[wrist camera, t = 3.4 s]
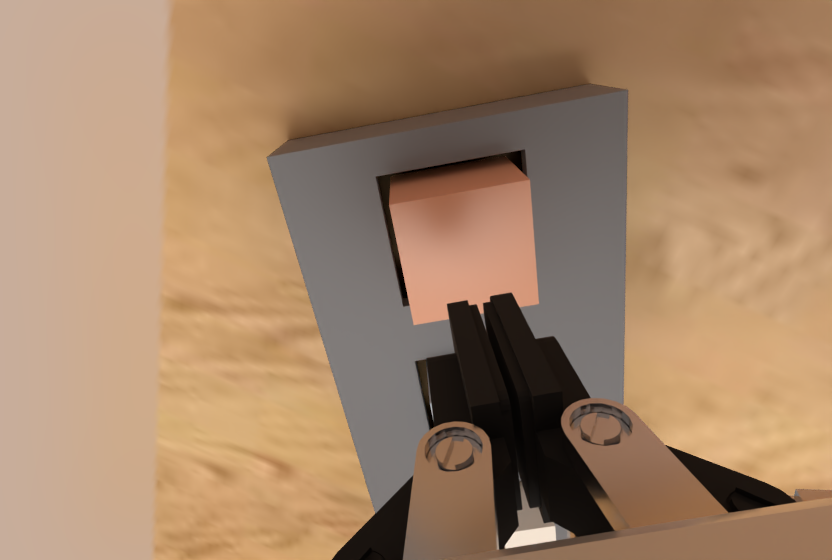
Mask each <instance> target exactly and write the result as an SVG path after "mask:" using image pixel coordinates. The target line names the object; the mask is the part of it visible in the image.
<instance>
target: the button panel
mask: <svg viewBox="0 0 832 560" xmlns="http://www.w3.org/2000/svg"><path fill="white" fill-rule="evenodd" d="M627 132H628V90H626V89H620V88H613V87H607V86H601V85H594V84H586V85H581V86H576V87H570V88H565V89H560V90H554V91H549V92H544V93H538V94H533V95H528V96H522V97H517V98H512V99H506V100H501V101H496V102H490V103H485V104H480V105H474V106H469V107H464V108H458V109H453V110H448V111H442V112H437V113H432V114H426V115H421V116H416V117H410V118H405V119H400V120H394V121H389V122H384V123H378V124H373V125H368V126H362V127H357V128H352V129H346V130H341V131H336V132H331V133H325V134H320V135H315V136H309V137H304V138H299V139H293V140H288V141H287V142H285V143H284V144H283V145H282V146H280V147H279V148H278V149H276V150H275V151H274V152H273V153H271V154H270V155H269V156H268V157H267V160H268V164H269V167H270V170H271V173H272V177H273V180H274V183H275V187H276V190H277V193H278V196H279V200H280V203H281V206H282V209H283V213H284V216H285V219H286V223H287V226H288V229H289V232H290V236H291V239H292V242H293V245H294V249H295V252H296V255H297V259H298V262H299V265H300V268H301V272H302V275H303V278H304V281H305V285H306V288H307V291H308V295H309V298H310V301H311V304H312V308H313V311H314V314H315V317H316V321H317V324H318V327H319V331H320V334H321V337H322V340H323V344H324V347H325V350H326V353H327V357H328V360H329V363H330V367H331V370H332V373H333V376H334V380H335V383H336V386H337V389H338V393H339V396H340V399H341V403H342V406H343V409H344V412H345V416H346V419H347V422H348V425H349V429H350V432H351V435H352V439H353V442H354V445H355V448H356V452H357V455H358V458H359V461H360V465H361V468H362V471H363V475H364V478H365V481H366V484H367V488H368V491H369V494H370V497H371V501H372V504H373V507H374V511H375V514H376V513H377V512H378V511H379V509H380V508H381V507H382V506H383V505H384V504H385V503H386V502H387V501H388V500H389V499H390V498H391V497H392V496H393V495H394V494H395V493H396V492H397V491H398V490H399V489H400V488H401V487H402V486H403V485H404V484H405V483H406V482H407V481H408V480H409V479H410V478H411V477H412V476H413V475H414V467H415V459H416V451H417V447H418V444H419V441H420V440H421V439H422V437H423V436H424V435H425V434H426V433H427V432H428V431H430V430H431V429H430V424H429V420H428V415H427V410H426V405H425V401H424V396H423V391H422V386H421V382H420V377H419V372H418V367H417V363H416V361H419V360H425V359H426V358H429V357H435V356H440V355H446V354H452V353H455V352H454V346H453V340H452V334H451V328H450V322H449V319H447V320H441V321H435V322H429V323H423V324H417V325H414V324H413V319H412V314H411V309H410V304H409V299H408V298H404V299H403V296H402V292H401V287H400V282H399V277H398V273H397V268H396V263H395V258H394V254H393V249H392V244H391V239H390V235H389V230H388V225H387V220H386V216H385V211H384V206H383V201H382V197H381V192H380V187H379V182H378V178H377V176H382V175H387V174H393V173H398V172H404V171H409V170H415V169H420V168H425V167H431V166H436V165H442V164H447V163H453V162H458V161H464V160H469V159H475V158H480V157H486V156H491V155H497V154H502V153H508V152H513V151H518V150H521V157H522V170H523V174H525V175H526V176H527V177H528V178H529V179H530V188H531V201H532V215H533V229H534V242H535V256H536V270H537V283H538V297H539V304H536V305H530V306H524V307H520V309H521V311H522V313H523V315H524V317H525V319H526V321H527V323H528V325H529V327H530V329H531V331H532V333H533V335H534V337H535V339H538V338H544V337H549V336H554V337H555V338H556V339H557V341H558V342H559V344H560V346H561V348H562V349H563V351H564V353H565V354H566V356H567V358H568V360H569V361H570V363H571V365H572V366H573V368H574V370H575V372H576V373H577V375H578V377H579V378H580V380H581V382H582V384H583V385H584V387H585V389H586V390H587V392H588V394H589V396H590V397H591V398H604V399H608V400H612V401H616V402H618V403H620V404H623V402H624V335H625V267H626V200H627ZM480 315H481V318H482V320H483V323H484V326H485V318H484V313H483V314H480ZM485 329H486V326H485ZM519 481H521V479H520V476H519ZM554 524H555V523H554ZM555 530H556V540H562V539H568V536H567V530H566V529H564V528H563V527H561V526H559V525H557V524H555Z"/></svg>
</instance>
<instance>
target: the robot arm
mask: <svg viewBox="0 0 832 560" xmlns="http://www.w3.org/2000/svg"><path fill="white" fill-rule="evenodd" d="M447 310H448V316H449V322H450V328H451V334H452V340H453V346H454V352H455V353H452V354H446V355H440V356H435V357H429V358H426V361H427V370H428V378H429V387H430V395H431V404H432V412H433V420H434V428H432V429H431V430H430V431H428V432H427V433H426V434H425V435H424V436H423V437H422V439H421V440H420V441H419V444H418V447H417V451H416V459H415V467H414V475H413V476H412V477H411V478H410V479H409V480H408V481H407V482H406V483H405V484H404V485H403V486H402V487H401V488H400V489H399V490H398V491H397V492H396V493H395V494H394V495H393V496H392V497H391V498H390V499H389V500H388V501H387V502H386V503H385V504H384V505H383V506H382V507H381V508H380V509H379V511H378V512H377V513H376V514H375V515H374V516H373V517H372V518H371V519H370V520H369V521H368V522H367V523H366V524H365V525H364V526H363V527H362V528H361V529H360V530H359V531H358V532H357V533H356V534H355V535H354V536H353V537H352V538H351V539H350V540H349V541H348V542H347V543H346V544H345V545H344V546H343V547H342V548H341V549H340V550H339V551H338V552H337V554H336V555H335V556H334V558H333V559H332V560H832V490H808V489H796V490H795V495H794V496H788V495H787V494H786V493H784V492H783V491H781V490H780V489H778V488H776V487H773V486H771V485H769V484H767V483H765V482H762V481H760V480H757V479H754V478H752V477H749V476H746V475H744V474H741V473H738V472H736V471H733V470H730V469H728V468H725V467H722V466H720V465H717V464H714V463H712V462H709V461H707V460H704V459H701V458H699V457H696V456H693V455H691V454H688V453H685V452H683V451H680V450H677V449H675V448H672V447H669V446H667V445H664V444H663V442H662V441H661V440H660V439H659V438H658V437H657V436H656V435H655V434H654V433H653V432H652V431H651V430H650V429H649V428H648V426H647V425H646V424H645V423H644V422H643V421H642V420H641V419H640V418H639V417H638V416H637V415H636V414H635V413H634V412H633V411H632V410H630V409H629V408H628V407H627V406H625V405H623V404H620V403H618V402H616V401H612V400H608V399H604V398H591V397H590V396H589V394H588V392H587V390H586V389H585V387H584V385H583V384H582V382H581V380H580V378H579V377H578V375H577V373H576V372H575V370H574V368H573V366H572V365H571V363H570V361H569V360H568V358H567V356H566V354H565V353H564V351H563V349H562V348H561V346H560V344H559V342H558V341H557V339H556V338H555V337H554V336H549V337H544V338H538V339H535V337H534V335H533V333H532V331H531V329H530V327H529V325H528V323H527V321H526V319H525V317H524V315H523V313H522V311H521V309H520V307H519V305H518V303H517V301H516V300H515V298H514V296H513V294H512V292H510V293H504V294H499V295H493V296H490V302H485V303H483V310H484V318H485V326H486V329H485V326H484V323H483V320H482V318H481V315H480V312H479V309H478V306H477V304H474V305H469V303H468V300H465V301H459V302H454V303H448V304H447ZM519 476H520V479H521V482H522V486H523V489H524V492H525V495H526V499H527V502H528V505H529V507H530V508H537V507H539V510H540V513H541V516H542V519H543V522H544V523H549V522H554V523H555V524H557V525H559V526H561V527H563V528H564V529H566V530H567V536H568V539H562V540H556V541H550V542H544V543H537V544H531V545H525V546H519V547H513V548H507V549H506V548H505V545H506V543H507V542H508V540H509V539H510V538H511V536H512V535H513V533H514V532H515V531H516V529H517V528H518V526H519V522H518V513H517V511H518V510H522V500H521V491H520V482H519Z"/></svg>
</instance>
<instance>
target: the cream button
mask: <svg viewBox="0 0 832 560" xmlns="http://www.w3.org/2000/svg"><path fill="white" fill-rule="evenodd" d="M519 482H520V491H521V500H522V510H518V511H517V513H518V522H519V526H518V528H517V529H516V531H515V532H514V533H513V535H512V536H511V538H510V539H509V540H508V542H507V543H506V545H505V548H506V549H507V548H513V547H519V546H525V545H531V544H537V543H544V542H550V541H556V530H555V524H554V522H549V523H544V522H543V519H542V516H541V513H540V510H539V507H537V508H530V507H529V505H528V502H527V499H526V495H525V492H524V489H523V486H522V482H521V481H519Z"/></svg>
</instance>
